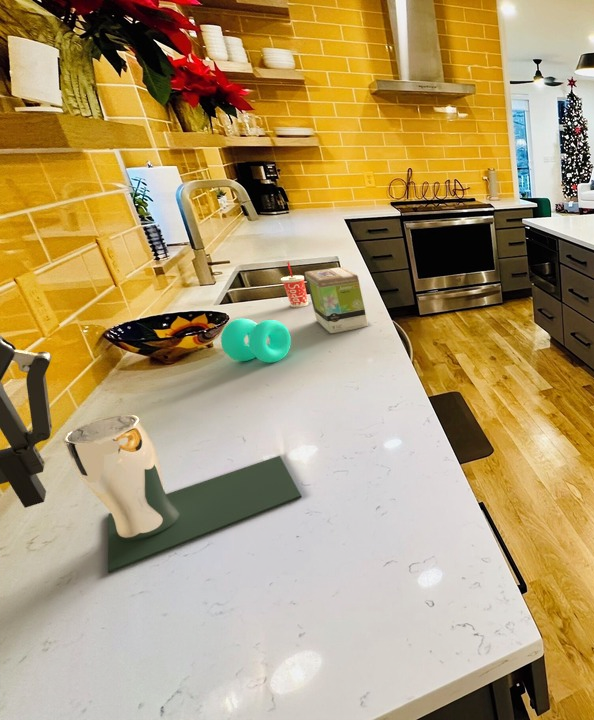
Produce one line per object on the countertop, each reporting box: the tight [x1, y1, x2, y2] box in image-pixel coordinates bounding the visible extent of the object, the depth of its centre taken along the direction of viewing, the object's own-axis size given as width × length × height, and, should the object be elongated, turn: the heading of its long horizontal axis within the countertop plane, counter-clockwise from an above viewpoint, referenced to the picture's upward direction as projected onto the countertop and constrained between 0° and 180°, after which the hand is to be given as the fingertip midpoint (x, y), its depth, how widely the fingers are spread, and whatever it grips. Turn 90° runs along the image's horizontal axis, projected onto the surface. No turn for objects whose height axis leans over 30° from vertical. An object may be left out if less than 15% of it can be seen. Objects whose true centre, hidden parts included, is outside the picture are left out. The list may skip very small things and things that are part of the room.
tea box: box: [304, 266, 369, 334], centre depth 139 cm, size 15×10×15 cm, turn 43°
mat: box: [107, 455, 303, 574], centre depth 70 cm, size 14×20×1 cm
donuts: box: [220, 318, 292, 364], centre depth 116 cm, size 10×10×10 cm
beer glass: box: [62, 414, 180, 541], centre depth 63 cm, size 7×7×15 cm
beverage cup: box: [280, 261, 309, 308], centre depth 155 cm, size 6×6×14 cm
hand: (35, 499), depth 58 cm, fingers closed
